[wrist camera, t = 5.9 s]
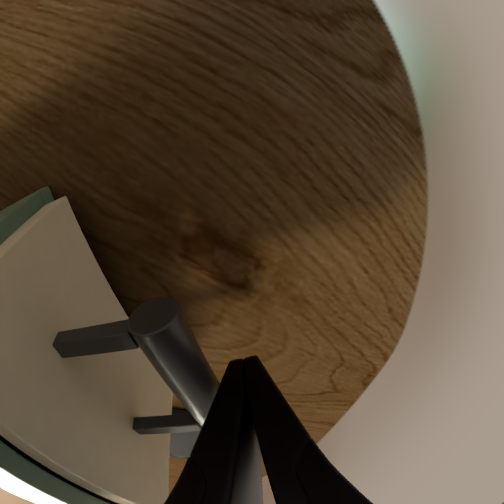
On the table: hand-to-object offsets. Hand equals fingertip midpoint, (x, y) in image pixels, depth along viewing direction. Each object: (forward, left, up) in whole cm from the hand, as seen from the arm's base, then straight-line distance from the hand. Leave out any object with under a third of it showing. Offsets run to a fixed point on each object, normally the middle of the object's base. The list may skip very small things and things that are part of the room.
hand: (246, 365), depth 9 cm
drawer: (+9, +5, -4) cm, 11 cm away
